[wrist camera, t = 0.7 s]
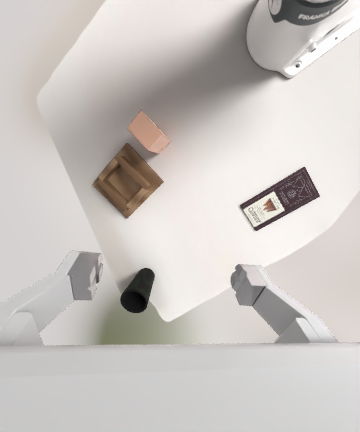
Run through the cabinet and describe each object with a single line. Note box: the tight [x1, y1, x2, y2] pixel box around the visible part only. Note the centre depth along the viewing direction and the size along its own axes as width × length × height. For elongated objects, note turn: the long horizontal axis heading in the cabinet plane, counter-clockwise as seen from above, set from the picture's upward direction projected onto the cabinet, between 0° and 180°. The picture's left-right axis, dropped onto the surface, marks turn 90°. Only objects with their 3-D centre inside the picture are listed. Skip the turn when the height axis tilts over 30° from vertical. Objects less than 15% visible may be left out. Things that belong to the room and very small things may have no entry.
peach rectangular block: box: [127, 111, 171, 154], centre depth 40 cm, size 4×6×11 cm
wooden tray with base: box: [92, 143, 164, 218], centre depth 47 cm, size 16×14×4 cm
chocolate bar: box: [240, 167, 320, 231], centre depth 46 cm, size 9×1×18 cm
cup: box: [120, 268, 155, 313], centre depth 52 cm, size 8×8×12 cm
